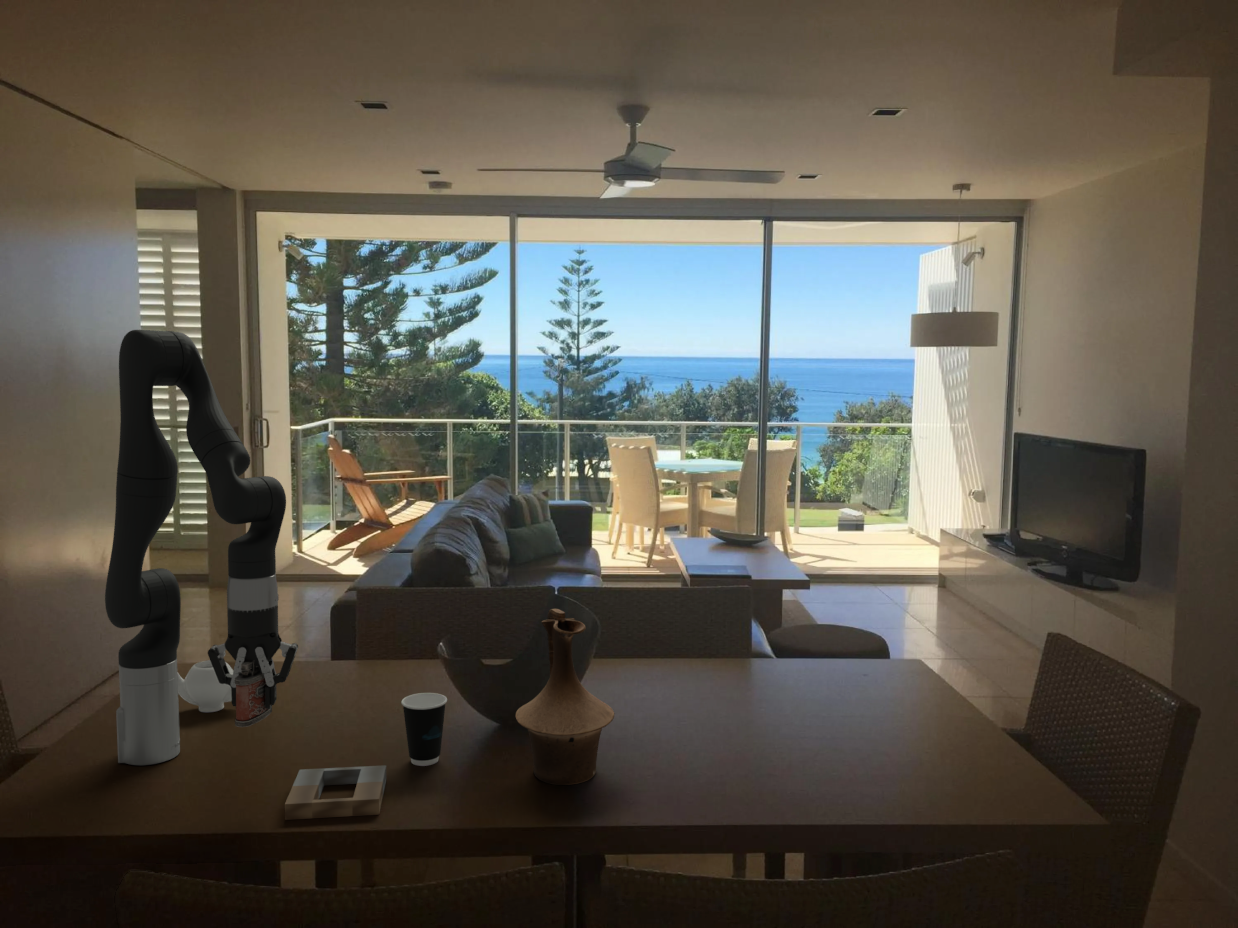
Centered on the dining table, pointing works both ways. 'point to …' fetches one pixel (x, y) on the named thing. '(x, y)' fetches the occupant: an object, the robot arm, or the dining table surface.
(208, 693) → the teapot
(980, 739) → the dining table surface
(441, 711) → the dixie cup
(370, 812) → the tan flat square frame
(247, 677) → the lighter
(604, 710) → the pitcher
